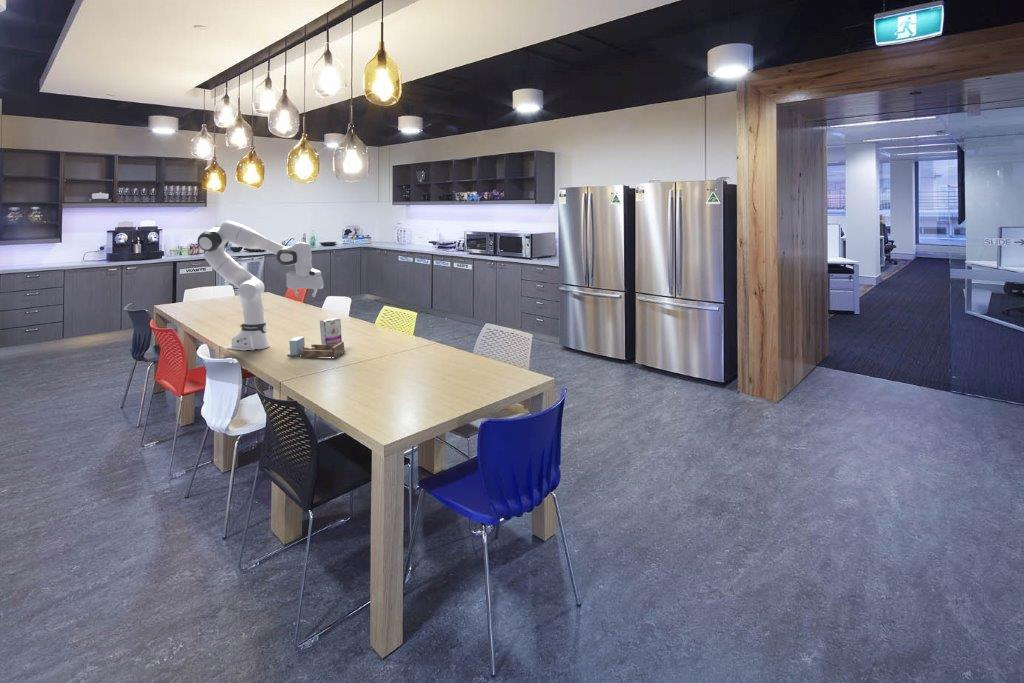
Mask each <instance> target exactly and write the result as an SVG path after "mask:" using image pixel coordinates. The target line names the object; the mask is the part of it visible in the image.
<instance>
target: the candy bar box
mask: <svg viewBox="0 0 1024 683" xmlns="http://www.w3.org/2000/svg"><path fill="white" fill-rule="evenodd" d="M341 322H342V321H341V318H337V317H334V318H333V317H332V318H327V319H321V320H319V329H320V330H319V332H320V341H321V342H320V343H321V344H322V345H337V344H339V343H341V342H343V340H342V324H341Z"/></svg>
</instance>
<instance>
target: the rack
mask: <svg viewBox="0 0 1024 683" xmlns="http://www.w3.org/2000/svg"><path fill="white" fill-rule="evenodd" d="M310 347H315V350H301V356H300V358H303V357H331V358H330V359H334V358H335V357H336V356H338V355H339V354H341V353H342V352H344V353H345V342H344V341H342V342H341V343H339V344H337V345H322V344H316V343H312V344H310ZM342 354H343V353H342ZM342 354H341V355H342ZM339 356H340V355H339ZM339 356H338V357H339ZM332 357H334V358H332ZM336 358H337V357H336ZM336 358H335V359H336Z"/></svg>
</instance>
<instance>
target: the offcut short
mask: <svg viewBox="0 0 1024 683" xmlns="http://www.w3.org/2000/svg"><path fill="white" fill-rule="evenodd" d="M303 350H315V347H311V345H310V346H309V345H305V347H303Z"/></svg>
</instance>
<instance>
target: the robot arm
mask: <svg viewBox="0 0 1024 683" xmlns="http://www.w3.org/2000/svg"><path fill="white" fill-rule="evenodd" d="M196 241H197V244H198V245H197V246H198V247H199V249H201V250H202V251H204V252H205V253H204V255H203V256H204V257H203V258H204V260H205V261H206V262H207V263H208V265H209V266H210V267H211V268H212V269H213V270H214V271H215V272H216V273H218V275H220V276H221V277H222V278H223V279H224V280H225V281H227V283H230V284H231V285H234V286H235V287H236V288H238V290H237V293H238V295H239V300H240V304H241V308H242V315H243V316H242V317H243V323H242V324H240V325H239V328H241V329H240V331H238V332H237V333H236V334H234V335H233V336H232V337H231V343H230V344H229V345H228V346H226V348H227V350H235V351H246V350H251V351H256V350H255V349H257V350H263V349H266V348H269V347H271V345H270V342H269V339H268V336H267V323H266V318H265V317H266V316H265V308H264V304H263V301H262V295H263V294H264V293H265V288H266V287H265V284H264V282H263V281H262V280H261V279H259V278H258V277H256V276H255V275H253V274H252V273H251V272H250V271H248V270H246V269H245V268H244V267H243V266H242V265H240V264H239V263H238V262H237V261H236V260H235V259H234V258H232V257H231V255H229V253H227V252H226V251H225V249H226V248H227V247H228V244H229V243H232V244H235V245H237V246H239V247H241V248H245V249H248V250H264V251H267V252H269V253H271V254H274V255H275V257H276V260H277V263H279V264H280V265H282V266H284V267H287V266H293V265H294V266H295V270H294V271H287V272H286V274H285V276H286V284H285V286H286V288H288V289H292V291H293V292H294V294H295V297H300V293H299V292H298V291H297V290H298V289H306V290H308V289H310V290H313V293H311V297H312V298H315V297H317V296H316V294H317V292H318V290H322V289H324V280H323V279H324V278H323V277H322V271H321V270H318V269H315V268H314V267H313V264H312V260H313V255H312V249H311V246H310V244H309V243H307V242H302V241H296V242H294V244H291V245H289V246H286V245H283V244H281V243H279V242H276V241H273V240H272V239H270V238H267V237H265V236H264V235H262V234H260V233H258V232H257V231H255V230H253V229H251V228H250V227H248V226H245V225H244V224H242V223H238V222H236V221H231V220H225V221H223V222H221V225H215V226H212V227H210V228H208V229H207V230H205V231H203V232H201V233H200V234H199V235H198V237H197V240H196Z"/></svg>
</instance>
